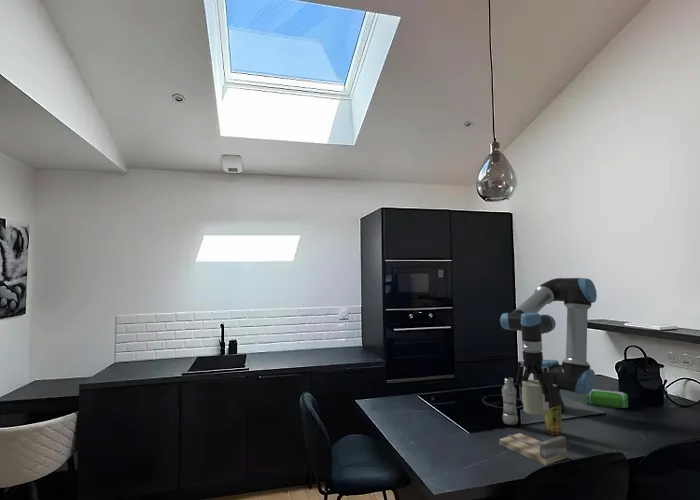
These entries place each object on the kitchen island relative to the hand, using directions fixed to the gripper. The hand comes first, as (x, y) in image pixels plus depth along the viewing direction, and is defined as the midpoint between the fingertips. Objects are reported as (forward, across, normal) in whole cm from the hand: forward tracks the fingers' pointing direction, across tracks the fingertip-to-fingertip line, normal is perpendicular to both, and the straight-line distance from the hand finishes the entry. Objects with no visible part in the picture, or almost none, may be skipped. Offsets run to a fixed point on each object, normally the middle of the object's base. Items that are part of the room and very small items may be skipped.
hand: (535, 406), depth 164 cm
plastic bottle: (+13, -15, +2) cm, 20 cm away
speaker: (+14, -7, +63) cm, 65 cm away
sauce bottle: (+13, +1, +9) cm, 16 cm away
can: (+2, 0, 0) cm, 2 cm away
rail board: (+12, +7, -13) cm, 19 cm away
